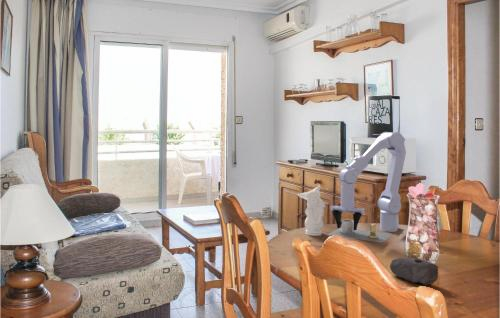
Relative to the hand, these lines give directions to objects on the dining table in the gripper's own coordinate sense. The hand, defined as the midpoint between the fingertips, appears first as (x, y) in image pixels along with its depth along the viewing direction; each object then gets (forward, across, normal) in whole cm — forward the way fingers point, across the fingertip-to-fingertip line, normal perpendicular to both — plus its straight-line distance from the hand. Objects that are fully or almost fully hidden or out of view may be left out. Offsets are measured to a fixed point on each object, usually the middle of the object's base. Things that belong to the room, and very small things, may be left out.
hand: (346, 228), depth 186 cm
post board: (+3, +6, -1) cm, 7 cm away
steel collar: (+1, 0, 0) cm, 1 cm away
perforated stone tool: (+3, +35, -43) cm, 56 cm away
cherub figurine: (+3, -13, -9) cm, 16 cm away
